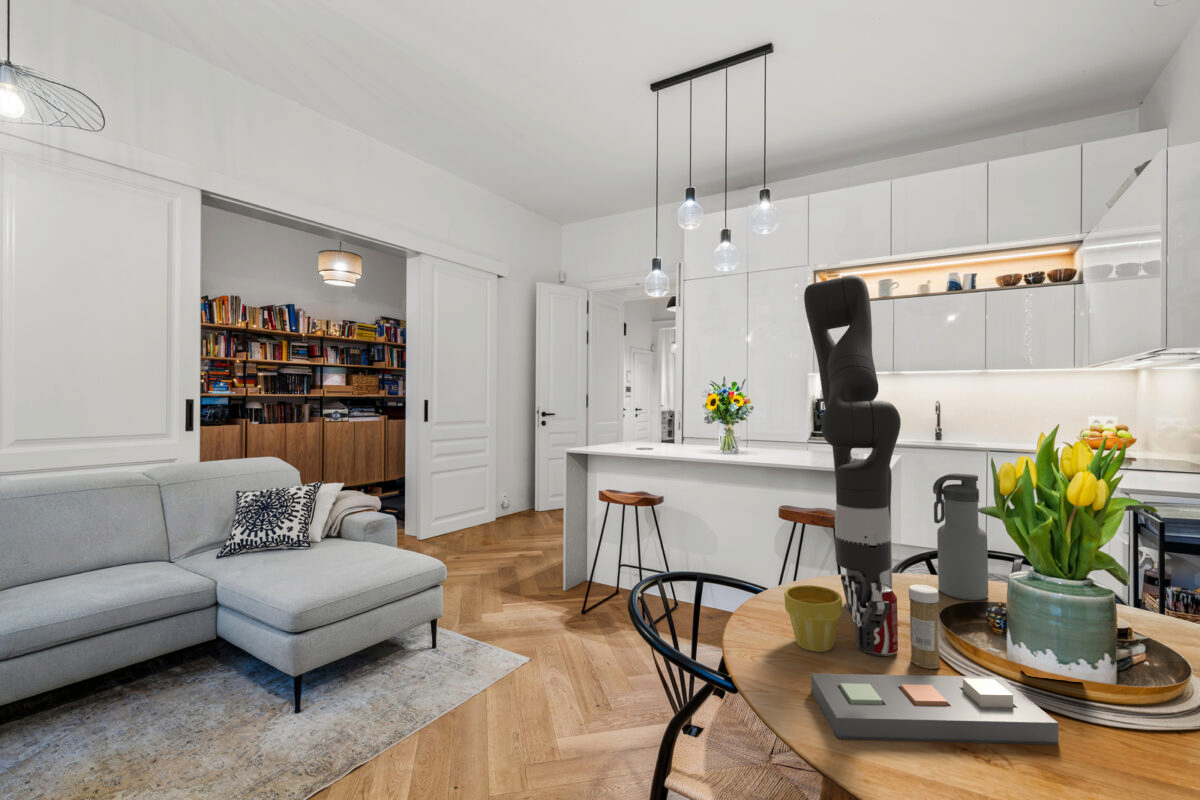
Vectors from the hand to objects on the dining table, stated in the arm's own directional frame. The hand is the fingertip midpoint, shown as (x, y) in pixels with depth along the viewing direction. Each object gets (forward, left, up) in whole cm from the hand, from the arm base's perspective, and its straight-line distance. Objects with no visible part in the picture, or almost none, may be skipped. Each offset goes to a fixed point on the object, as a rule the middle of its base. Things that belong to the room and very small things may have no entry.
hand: (865, 649), depth 81 cm
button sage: (0, -1, -9) cm, 9 cm away
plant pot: (-23, -1, -10) cm, 25 cm away
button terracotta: (0, +8, -9) cm, 12 cm away
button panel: (0, +8, -10) cm, 13 cm away
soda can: (-21, +10, -10) cm, 25 cm away
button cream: (0, +17, -8) cm, 19 cm away
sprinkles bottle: (-16, +16, -10) cm, 25 cm away
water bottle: (-50, +41, -10) cm, 65 cm away
